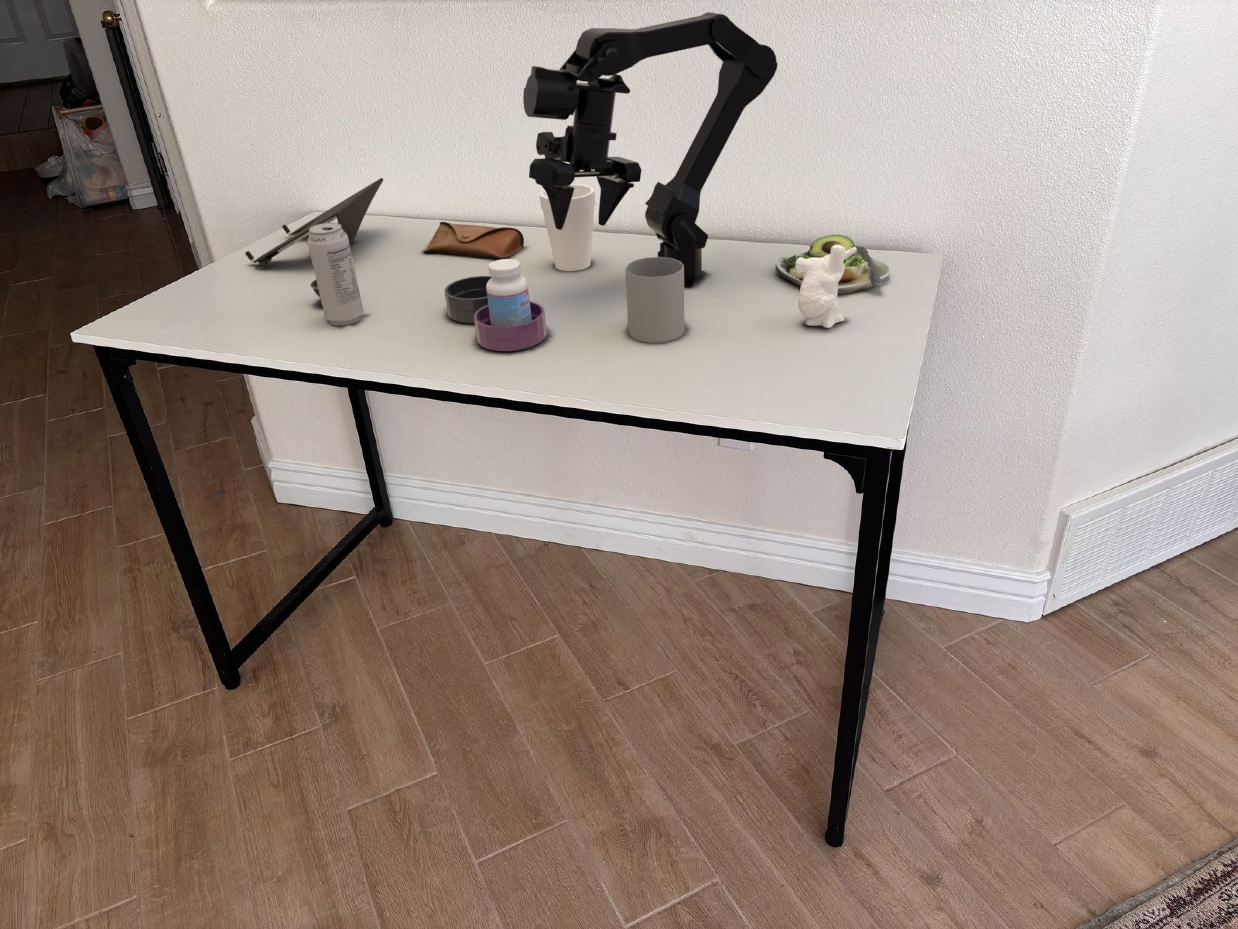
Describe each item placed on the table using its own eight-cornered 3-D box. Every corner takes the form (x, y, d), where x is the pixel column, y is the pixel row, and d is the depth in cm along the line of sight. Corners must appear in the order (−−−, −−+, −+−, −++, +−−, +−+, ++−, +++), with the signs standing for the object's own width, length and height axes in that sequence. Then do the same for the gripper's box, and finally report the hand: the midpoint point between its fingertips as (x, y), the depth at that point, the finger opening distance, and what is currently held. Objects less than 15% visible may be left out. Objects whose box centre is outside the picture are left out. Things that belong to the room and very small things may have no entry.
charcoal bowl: (522, 304, 150) (519, 280, 148) (488, 328, 143) (485, 302, 140) (471, 296, 154) (468, 272, 152) (435, 319, 147) (431, 294, 144)
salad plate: (921, 286, 148) (925, 258, 146) (826, 307, 143) (828, 279, 140) (850, 251, 164) (852, 225, 161) (762, 269, 158) (763, 243, 156)
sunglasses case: (419, 251, 174) (423, 215, 173) (438, 258, 180) (443, 224, 180) (505, 258, 168) (510, 221, 167) (521, 266, 174) (526, 230, 174)
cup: (645, 347, 134) (642, 281, 129) (618, 328, 140) (615, 264, 135) (695, 333, 137) (694, 269, 132) (667, 315, 143) (665, 253, 138)
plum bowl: (559, 329, 141) (556, 304, 139) (523, 357, 133) (520, 331, 131) (501, 320, 145) (498, 296, 143) (463, 346, 137) (460, 321, 135)
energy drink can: (347, 309, 152) (327, 219, 144) (372, 316, 149) (353, 224, 141) (318, 322, 148) (296, 230, 140) (343, 329, 145) (322, 236, 137)
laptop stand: (317, 259, 192) (289, 220, 189) (403, 209, 184) (376, 167, 180) (267, 301, 173) (235, 259, 169) (360, 248, 165) (328, 202, 161)
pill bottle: (535, 341, 137) (527, 268, 131) (493, 346, 136) (484, 273, 130) (531, 325, 142) (523, 254, 136) (491, 330, 141) (482, 259, 135)
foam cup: (609, 265, 164) (604, 191, 157) (564, 278, 159) (558, 203, 152) (580, 252, 170) (575, 180, 163) (537, 264, 166) (529, 191, 159)
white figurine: (850, 315, 140) (857, 238, 134) (850, 333, 134) (857, 253, 128) (794, 313, 142) (798, 236, 135) (791, 331, 136) (795, 252, 130)
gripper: (599, 112, 148) (588, 210, 155) (509, 111, 136) (501, 217, 143) (650, 126, 142) (635, 228, 149) (560, 126, 129) (548, 236, 136)
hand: (580, 227), depth 144 cm, fingers open, 9 cm apart
